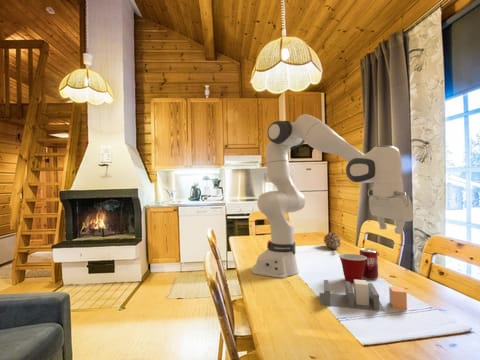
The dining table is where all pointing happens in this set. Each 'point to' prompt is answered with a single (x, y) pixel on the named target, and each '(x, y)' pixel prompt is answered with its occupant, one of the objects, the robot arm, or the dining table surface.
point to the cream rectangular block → (361, 292)
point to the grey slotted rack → (350, 298)
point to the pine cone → (332, 240)
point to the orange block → (398, 297)
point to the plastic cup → (352, 266)
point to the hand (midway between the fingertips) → (390, 231)
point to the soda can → (370, 263)
